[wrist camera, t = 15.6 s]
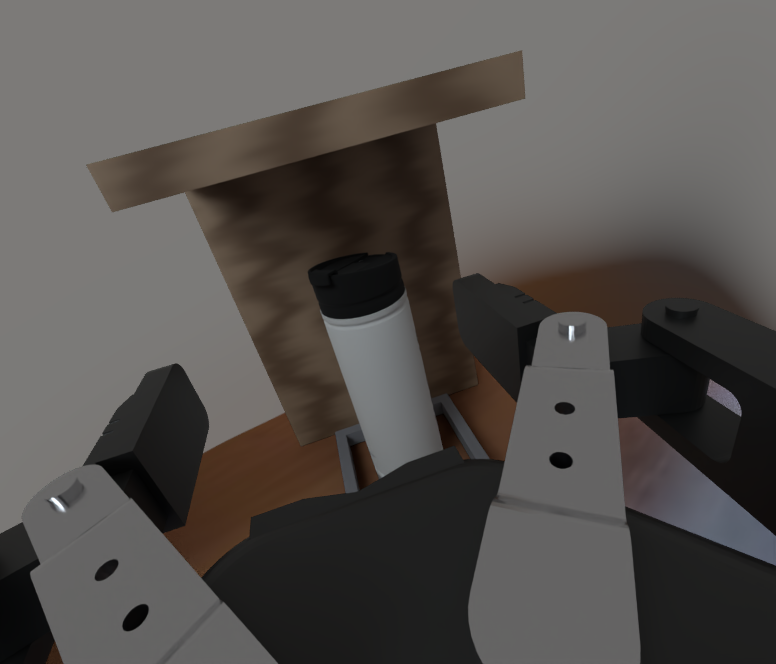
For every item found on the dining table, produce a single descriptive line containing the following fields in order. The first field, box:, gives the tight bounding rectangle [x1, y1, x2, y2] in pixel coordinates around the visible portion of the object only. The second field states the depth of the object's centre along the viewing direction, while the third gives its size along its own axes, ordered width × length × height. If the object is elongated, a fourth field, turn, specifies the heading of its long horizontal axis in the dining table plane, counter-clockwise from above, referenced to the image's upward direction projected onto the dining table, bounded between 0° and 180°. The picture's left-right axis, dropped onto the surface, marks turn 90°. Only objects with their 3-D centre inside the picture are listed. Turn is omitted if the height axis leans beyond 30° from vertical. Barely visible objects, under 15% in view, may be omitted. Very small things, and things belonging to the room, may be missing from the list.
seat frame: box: [335, 393, 489, 493], centre depth 36 cm, size 12×12×2 cm
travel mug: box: [308, 252, 443, 479], centre depth 31 cm, size 6×7×20 cm
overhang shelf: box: [87, 51, 525, 446], centre depth 31 cm, size 20×16×28 cm
